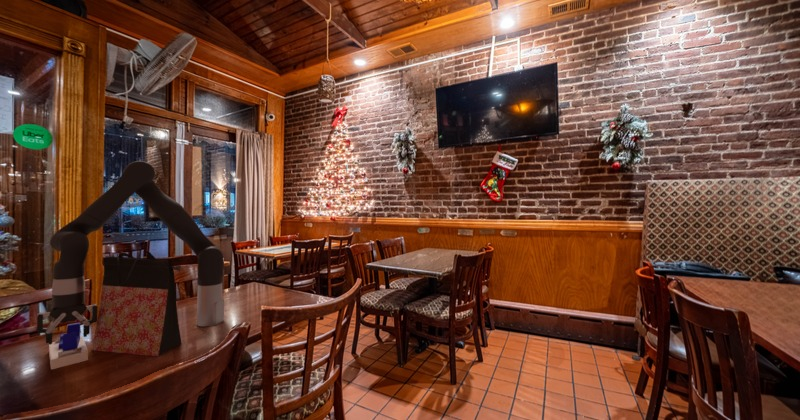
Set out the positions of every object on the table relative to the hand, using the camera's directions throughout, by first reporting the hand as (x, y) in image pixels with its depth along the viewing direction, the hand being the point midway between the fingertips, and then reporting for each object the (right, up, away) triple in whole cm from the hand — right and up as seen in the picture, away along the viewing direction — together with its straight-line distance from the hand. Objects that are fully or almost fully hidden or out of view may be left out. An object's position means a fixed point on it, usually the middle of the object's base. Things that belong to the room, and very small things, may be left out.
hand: (68, 339), depth 103 cm
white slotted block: (0, -5, 0) cm, 5 cm away
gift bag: (+18, -6, +7) cm, 21 cm away
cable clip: (0, -3, 0) cm, 3 cm away
